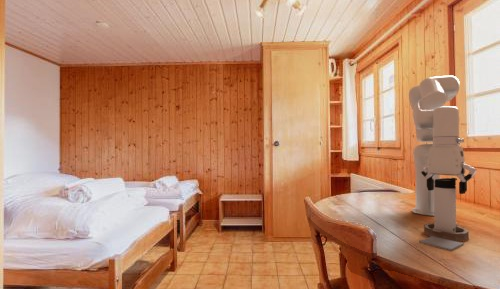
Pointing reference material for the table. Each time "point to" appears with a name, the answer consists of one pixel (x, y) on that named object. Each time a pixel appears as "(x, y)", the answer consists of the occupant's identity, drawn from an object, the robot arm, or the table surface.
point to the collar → (446, 233)
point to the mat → (441, 243)
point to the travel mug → (445, 204)
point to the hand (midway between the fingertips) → (445, 191)
